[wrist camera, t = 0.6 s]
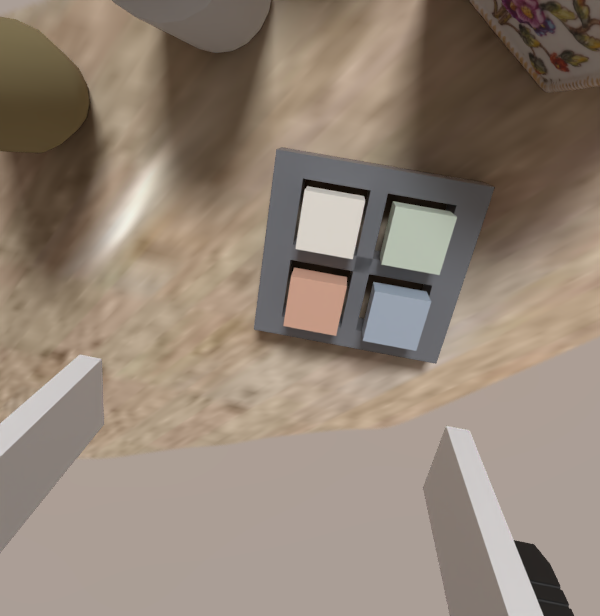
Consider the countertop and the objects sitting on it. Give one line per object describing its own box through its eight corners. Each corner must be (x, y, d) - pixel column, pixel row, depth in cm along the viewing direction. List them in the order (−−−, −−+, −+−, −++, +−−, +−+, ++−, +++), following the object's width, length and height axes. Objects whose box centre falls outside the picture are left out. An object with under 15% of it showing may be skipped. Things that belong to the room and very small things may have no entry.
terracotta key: (288, 309, 35) (283, 325, 32) (295, 262, 33) (291, 276, 30) (337, 318, 35) (336, 335, 32) (347, 272, 33) (346, 286, 30)
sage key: (378, 251, 32) (381, 264, 29) (391, 198, 31) (395, 206, 28) (431, 261, 32) (439, 275, 29) (446, 208, 31) (457, 217, 28)
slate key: (361, 322, 35) (362, 340, 32) (372, 276, 33) (374, 291, 30) (410, 331, 35) (416, 350, 32) (424, 286, 33) (431, 301, 30)
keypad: (259, 316, 37) (253, 329, 35) (281, 147, 32) (276, 149, 29) (430, 348, 37) (436, 363, 35) (483, 182, 31) (494, 187, 29)
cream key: (300, 237, 32) (295, 248, 30) (308, 183, 31) (304, 190, 28) (352, 247, 32) (352, 259, 29) (363, 193, 31) (365, 200, 28)
